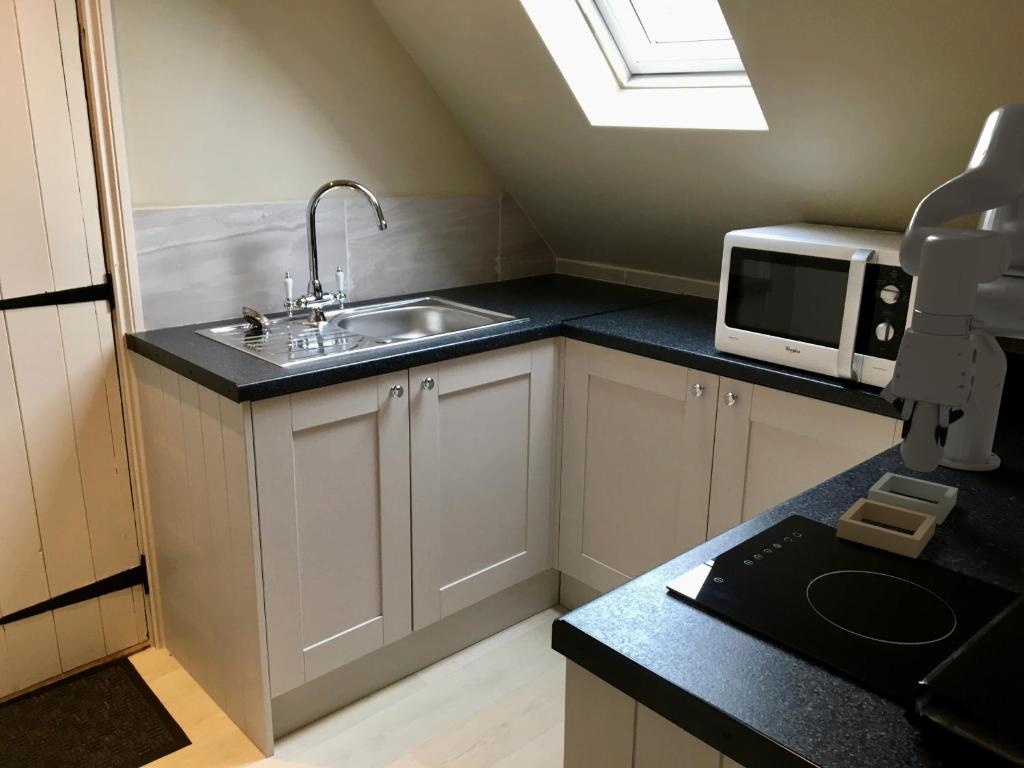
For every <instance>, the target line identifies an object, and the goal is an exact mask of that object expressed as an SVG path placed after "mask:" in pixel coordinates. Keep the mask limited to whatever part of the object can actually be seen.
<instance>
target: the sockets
mask: <svg viewBox="0 0 1024 768" xmlns="http://www.w3.org/2000/svg"><path fill="white" fill-rule="evenodd" d="M958 491H959V488H958V487H954V486H949V485H944V484H941V483H937V482H933V481H928V480H923V479H918V478H914V477H912V476H911V477H910V476H905V475H901V474H896V473H892V472H888V471H887V472H885V473H884V474H883V476H881V477H880V478H879V479H878V480H877V481H876V482H875V483H874V484H873V485H872V486H871V487H870V488H869V489H868V492H867V498H863V497H860V498H859V499H858V500H857V501H856V502H855V503H853V504H852V505H851V506H850V507H849V508H848V509H847V511H845V513H843V514H842V515H841V516H840V517H839V518H838V520H837V526H836V527H837V529H836V537H837V538H840V539H844V540H847V541H850V542H851V541H852V542H854V543H858V544H861V543H862V544H861V545H866V546H870V547H872V548H876V549H879V548H880V550H883V549H884V550H883V551H887V550H888V552H891V553H894V554H898V555H901V556H905V557H908V558H912V559H917V558H918V557H919V556H920V554H921V553H922V551H923V550H924V548H925V547H926V546H927V544H928V543H929V542H930V540H932V537H933V536H934V535H935V530H936V525H940V526H941V525H942V524H943V523H944V521H945V520H946V519H947V517H948V515H949V514H950V513H951V511H952V510H953V508H954V507H955V505H956V503H957V498H958ZM893 492H894V493H893ZM897 492H898V493H899V494H897ZM900 494H901V495H900ZM902 494H903V495H902ZM905 495H906V496H905ZM909 496H911V497H909ZM913 497H914V498H913ZM921 499H924V500H921ZM926 500H927V501H926ZM929 501H931V502H929ZM933 502H934V503H933ZM864 519H866V520H868V521H869V520H870V521H872V522H877V523H880V524H885V525H888V526H892V527H897V528H899V529H904V530H907V531H911V532H914V533H913V535H912V534H907V533H904V532H899V531H896V530H893V529H888V528H884V527H881V526H877V525H873V524H869V523H866V522H862V521H863V520H864Z"/></svg>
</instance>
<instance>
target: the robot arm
mask: <svg viewBox="0 0 1024 768" xmlns="http://www.w3.org/2000/svg"><path fill="white" fill-rule="evenodd" d="M976 214H977V215H978V214H981V215H980V217H979V221H978V225H977V228H966V227H956V226H943V225H946V224H947V223H949V222H952V221H955V220H958V219H961V218H965V217H968V216H972V215H976ZM898 257H899V259H898V260H899V261H898V262H899V264H900V267H901V268H902V270H903V272H905V273H906V274H908V275H910V276H913V277H917V282H916V287H915V288H916V289H915V297H914V303H913V309H912V315H911V323H910V327H907V328H906V329H905V331H904V334H903V336H902V339H901V342H900V344H899V345H900V346H899V348H898V353H897V357H896V360H895V363H894V365H895V366H894V369H893V373H892V378H891V379H890V380H889V382H888V383H887V384H886V386H885V387H884V388H883V389H882V391H881V392H880V396H881V398H883V399H884V400H885V401H887V402H888V403H890V404H892V406H893V407H894V408H895V409H896V411H898V413H899V414H900V416H901V419H902V420H903V422H902V428H901V436H900V438H901V439H902V440H903V439H904V438H905V441H906V438H907V435H908V433H909V432H910V427H911V425H912V423H911V422H912V417H913V412H914V409H915V406H916V403H917V401H919V402H925V403H930V404H936V405H940V419H939V426H936V428H935V440H936V445H937V444H938V440H939V436H940V444H941V446H942V447H944V457H943V459H942V460H941V462H940V463H939V464H938V466H939V465H940V466H943V467H946V468H951V469H957V470H962V471H973V472H987V471H993V470H996V469H998V468H999V467H1000V466H1001V465H1000V464H1001V458H1000V457H999V456H998V455H997V454H996V453H994V452H992V448H993V444H994V438H995V432H996V427H997V422H998V417H999V412H1000V411H999V410H1000V406H1001V401H1002V394H1003V390H1004V385H1005V378H1006V375H1007V371H1008V370H1007V369H1008V364H1007V363H1008V362H1007V358H1006V355H1005V352H1004V351H1003V349H1002V347H1001V346H1000V344H999V343H998V341H997V340H996V337H1001V338H1002V337H1005V338H1012V339H1020V340H1024V278H1017V277H1011V276H1018V277H1019V276H1020V277H1024V102H1013V103H1012V102H1011V103H1007V104H1003V105H1001V106H999V107H997V108H995V109H994V110H992V111H991V113H989V115H988V116H987V117H986V118H985V120H984V121H983V124H982V127H981V130H980V133H979V135H978V138H977V139H976V143H975V145H974V147H973V150H972V151H971V154H970V157H969V159H968V161H967V165H966V167H965V170H964V171H963V172H962V173H961V174H959V175H956V176H955V177H953V178H951V179H949V180H948V181H946V182H945V183H942V184H941V185H940V186H938V187H936V189H934V190H933V191H931V192H930V193H929V194H927V195H926V196H925V197H924V198H923V199H922V200H920V202H919V203H918V205H917V206H916V208H915V210H914V211H913V213H912V215H911V218H910V219H909V223H908V225H907V227H906V229H905V232H904V234H903V237H902V240H901V242H900V247H899V253H898ZM1004 275H1007V276H1004ZM1008 275H1009V276H1008ZM927 394H928V397H929V399H928V400H926V398H925V397H926V396H927ZM904 444H905V442H904Z"/></svg>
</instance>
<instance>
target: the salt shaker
mask: <svg viewBox="0 0 1024 768" xmlns="http://www.w3.org/2000/svg"><path fill="white" fill-rule="evenodd" d="M925 398H926V400H928V399H929V397H928V394H927V396H926V397H925ZM939 419H940V405H936V404H930V403H925V402H919V401H917V403H916V406H915V409H914V412H913V417H912V422H911V423H912V425H911V427H910V432H909V433H908V435H907V438H906V441H905V438H904V439H902V442H901V445H900V448H899V452H900V454H901V455H900V456H901V458H902V460H903V463H904V467H905V468H907V469H909V470H912V471H915V472H922V473H932V471H935V470H936V469H937V467H938V466H939V463H940V462H941V460H942V459H943V457H944V447H942V446H941V444H940V436H939V440H938V444H937V445H936V440H935V428H936V426H939ZM904 442H905V444H904Z"/></svg>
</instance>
